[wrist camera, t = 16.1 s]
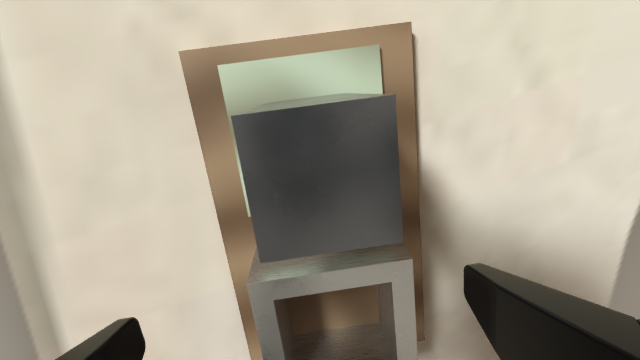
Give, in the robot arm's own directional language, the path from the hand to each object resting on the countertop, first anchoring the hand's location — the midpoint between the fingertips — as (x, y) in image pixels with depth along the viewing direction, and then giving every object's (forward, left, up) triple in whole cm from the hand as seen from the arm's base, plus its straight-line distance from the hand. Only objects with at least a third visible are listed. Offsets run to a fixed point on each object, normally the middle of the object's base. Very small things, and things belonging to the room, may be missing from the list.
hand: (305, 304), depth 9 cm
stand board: (-2, -1, -13) cm, 13 cm away
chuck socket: (-8, -1, -13) cm, 15 cm away
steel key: (+3, -1, -11) cm, 12 cm away
